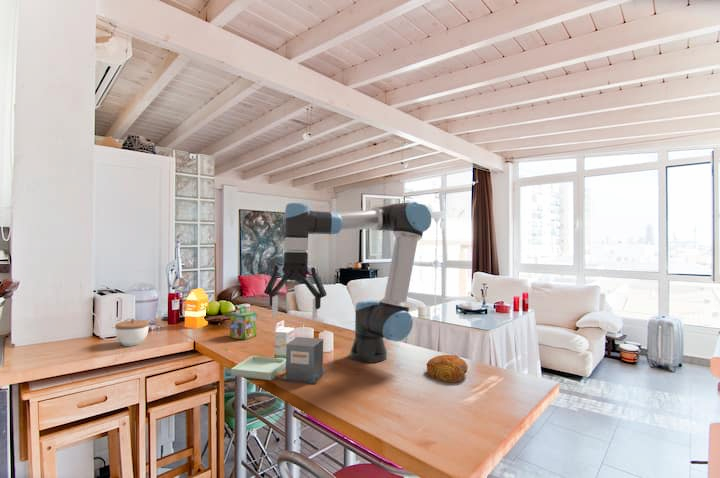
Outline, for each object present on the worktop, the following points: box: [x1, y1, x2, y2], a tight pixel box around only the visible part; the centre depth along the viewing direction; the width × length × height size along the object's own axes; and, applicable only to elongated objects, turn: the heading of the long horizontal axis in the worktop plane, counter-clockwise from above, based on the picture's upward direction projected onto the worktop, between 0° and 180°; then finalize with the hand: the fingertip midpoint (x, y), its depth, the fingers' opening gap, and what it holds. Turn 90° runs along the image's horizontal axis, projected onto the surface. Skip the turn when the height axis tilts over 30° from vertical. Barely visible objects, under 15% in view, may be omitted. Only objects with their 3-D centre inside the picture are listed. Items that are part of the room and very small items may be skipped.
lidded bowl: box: [114, 318, 150, 347], centre depth 158 cm, size 13×13×11 cm
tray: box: [230, 355, 286, 381], centre depth 130 cm, size 15×15×2 cm
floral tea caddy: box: [229, 305, 258, 341], centre depth 174 cm, size 9×9×15 cm
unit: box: [281, 336, 327, 385], centre depth 125 cm, size 12×12×12 cm
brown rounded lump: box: [426, 354, 468, 383], centre depth 130 cm, size 14×16×8 cm
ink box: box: [273, 319, 295, 359], centre depth 143 cm, size 9×5×15 cm, turn 168°
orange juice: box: [184, 287, 209, 329], centre depth 193 cm, size 8×9×20 cm
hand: (294, 317), depth 115 cm, fingers open, 13 cm apart
